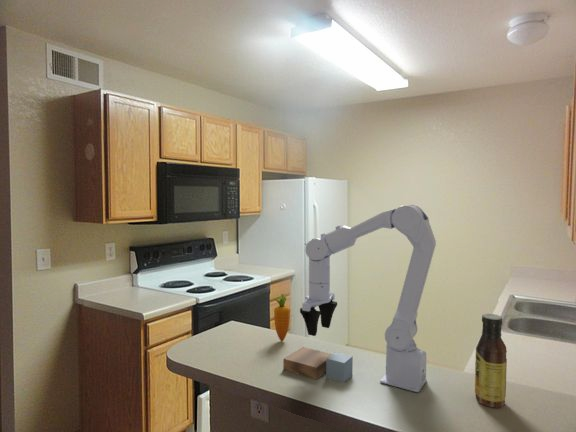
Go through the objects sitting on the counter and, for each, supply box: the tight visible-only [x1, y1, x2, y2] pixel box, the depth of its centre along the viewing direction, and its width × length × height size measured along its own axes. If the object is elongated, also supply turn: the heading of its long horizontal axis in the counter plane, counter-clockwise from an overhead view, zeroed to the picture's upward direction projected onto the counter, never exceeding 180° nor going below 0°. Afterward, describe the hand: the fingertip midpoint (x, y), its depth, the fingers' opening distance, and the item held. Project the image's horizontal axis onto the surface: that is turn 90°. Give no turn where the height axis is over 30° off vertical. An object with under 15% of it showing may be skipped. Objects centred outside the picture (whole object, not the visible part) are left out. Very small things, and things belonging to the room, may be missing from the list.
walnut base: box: [283, 346, 333, 380], centre depth 108 cm, size 10×10×3 cm
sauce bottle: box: [474, 313, 508, 409], centre depth 90 cm, size 6×6×20 cm
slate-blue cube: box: [325, 351, 354, 383], centre depth 103 cm, size 5×5×5 cm
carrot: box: [273, 293, 291, 342], centre depth 127 cm, size 5×5×15 cm
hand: (319, 331), depth 110 cm, fingers open, 7 cm apart
